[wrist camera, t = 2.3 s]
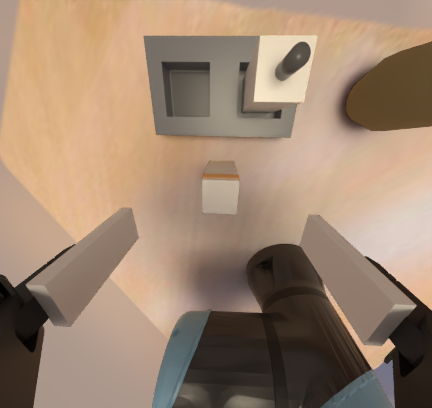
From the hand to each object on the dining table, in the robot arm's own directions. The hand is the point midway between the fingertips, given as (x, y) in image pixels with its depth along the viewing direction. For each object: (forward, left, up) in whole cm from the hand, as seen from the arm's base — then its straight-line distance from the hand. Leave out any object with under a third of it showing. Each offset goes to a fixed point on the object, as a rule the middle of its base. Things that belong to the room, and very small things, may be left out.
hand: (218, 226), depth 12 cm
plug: (0, 0, -17) cm, 17 cm away
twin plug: (+11, -5, -16) cm, 20 cm away
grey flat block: (+11, 0, -17) cm, 20 cm away
